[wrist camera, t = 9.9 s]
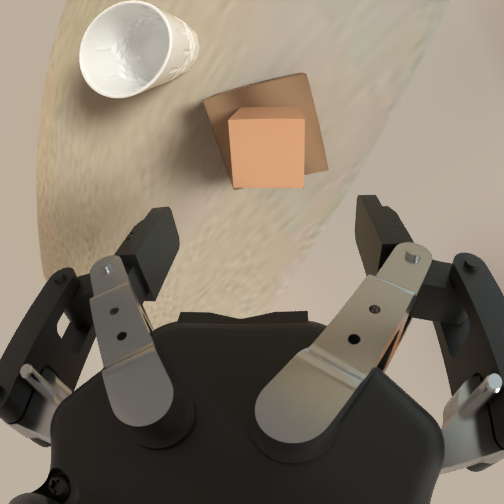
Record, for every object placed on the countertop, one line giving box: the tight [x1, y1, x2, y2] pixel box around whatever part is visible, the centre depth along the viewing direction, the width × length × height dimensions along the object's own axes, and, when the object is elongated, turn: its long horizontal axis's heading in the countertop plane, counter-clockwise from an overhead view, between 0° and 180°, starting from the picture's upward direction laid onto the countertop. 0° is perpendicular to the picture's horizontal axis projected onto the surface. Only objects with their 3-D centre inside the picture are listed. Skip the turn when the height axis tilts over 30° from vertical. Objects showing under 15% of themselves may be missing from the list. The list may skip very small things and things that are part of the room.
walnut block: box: [203, 73, 328, 190], centre depth 26 cm, size 9×9×5 cm
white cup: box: [79, 1, 200, 98], centre depth 20 cm, size 8×8×10 cm
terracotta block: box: [228, 106, 305, 188], centre depth 22 cm, size 5×5×6 cm
